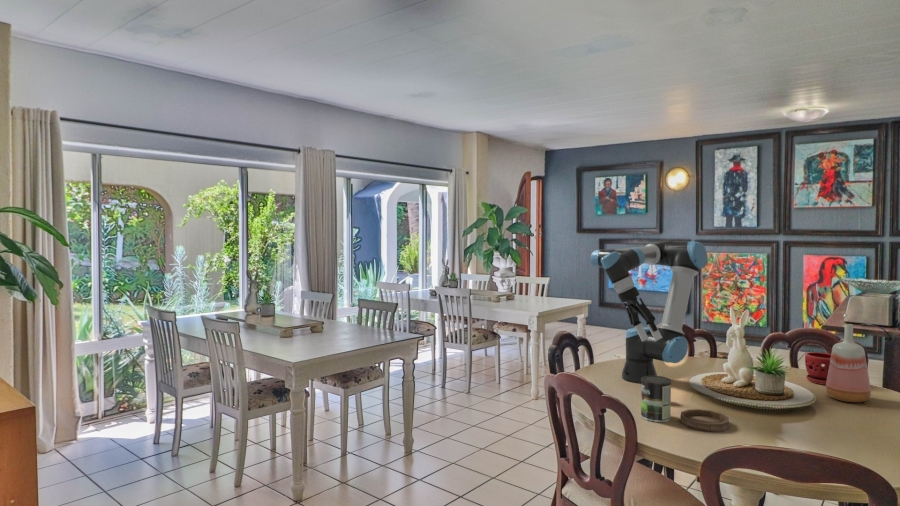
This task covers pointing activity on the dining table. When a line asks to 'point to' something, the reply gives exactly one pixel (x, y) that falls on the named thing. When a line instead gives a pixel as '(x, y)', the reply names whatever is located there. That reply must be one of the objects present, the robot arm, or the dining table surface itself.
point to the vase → (848, 371)
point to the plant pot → (817, 366)
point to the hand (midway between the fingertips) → (652, 339)
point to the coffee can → (655, 398)
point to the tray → (704, 420)
